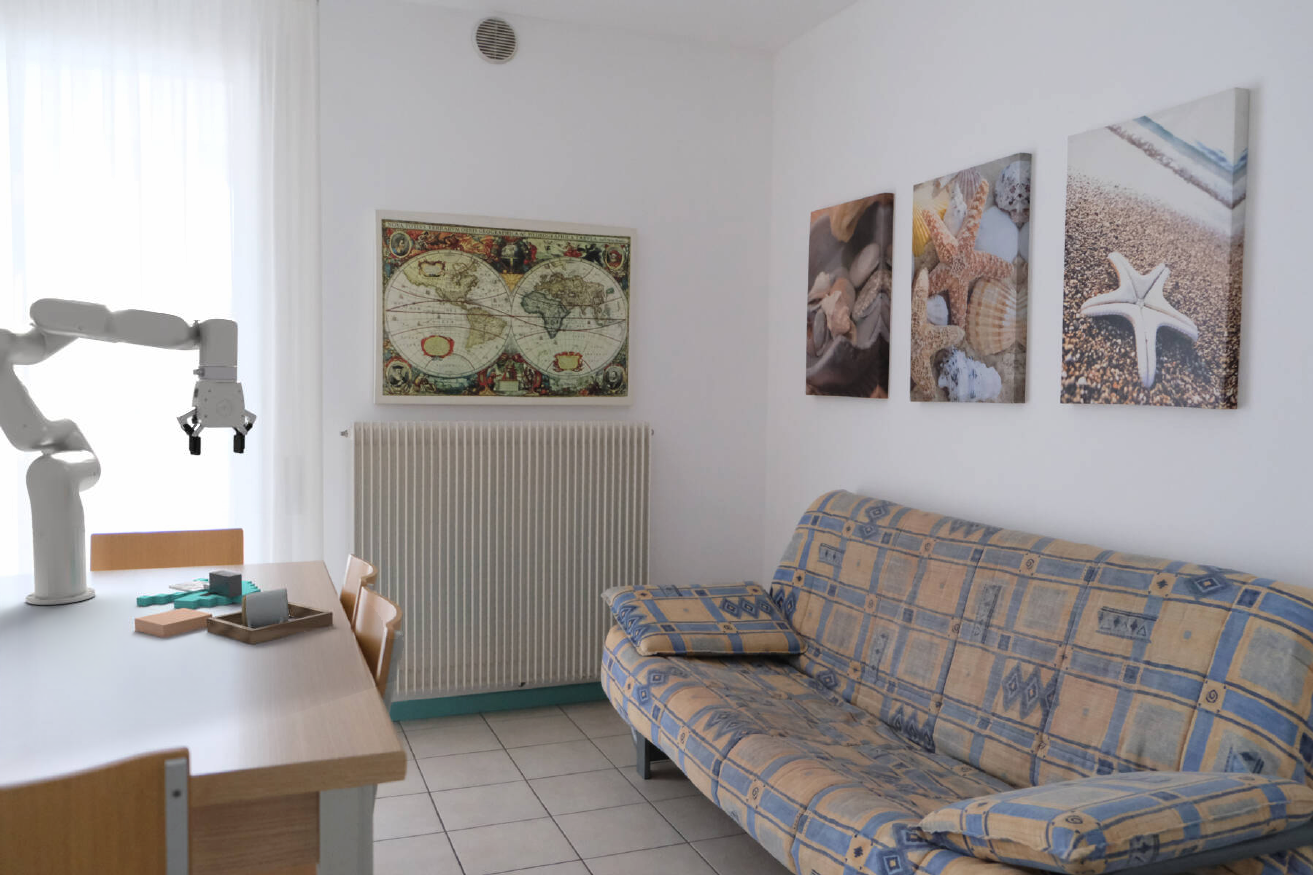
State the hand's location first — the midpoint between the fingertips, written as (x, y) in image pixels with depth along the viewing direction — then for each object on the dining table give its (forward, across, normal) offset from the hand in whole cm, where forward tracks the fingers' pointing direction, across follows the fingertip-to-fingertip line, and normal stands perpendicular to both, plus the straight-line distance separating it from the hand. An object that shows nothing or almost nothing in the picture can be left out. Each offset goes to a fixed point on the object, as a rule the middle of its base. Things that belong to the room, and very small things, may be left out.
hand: (217, 453), depth 207 cm
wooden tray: (+31, -7, -33) cm, 46 cm away
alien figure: (+32, -1, 0) cm, 32 cm away
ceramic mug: (+31, -9, -35) cm, 48 cm away
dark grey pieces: (+30, -2, 0) cm, 30 cm away
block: (+30, -19, -14) cm, 39 cm away
